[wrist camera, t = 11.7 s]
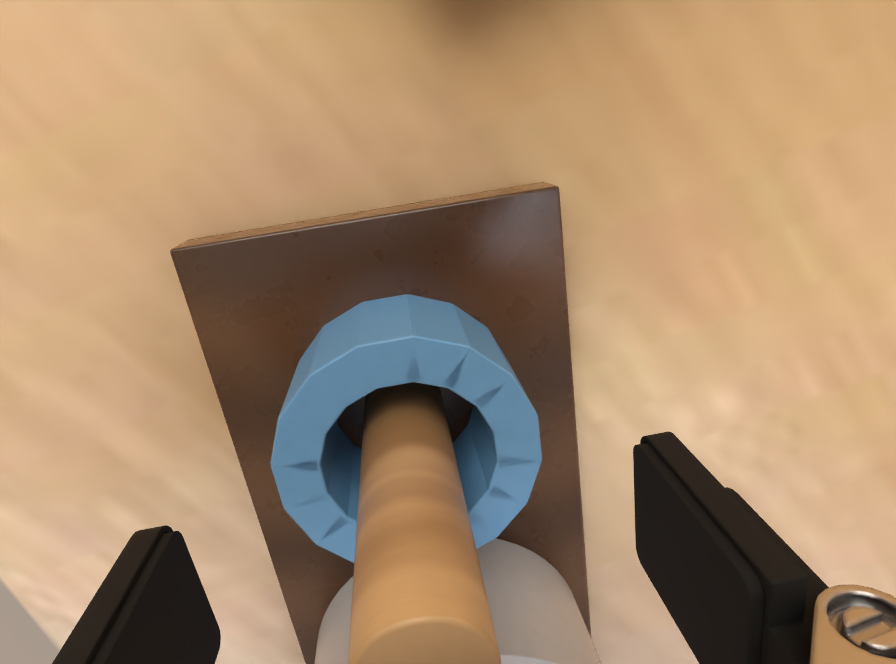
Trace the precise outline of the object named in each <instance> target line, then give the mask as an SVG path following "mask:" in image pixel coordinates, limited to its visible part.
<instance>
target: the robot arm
mask: <svg viewBox="0 0 896 664" xmlns="http://www.w3.org/2000/svg"><path fill="white" fill-rule="evenodd" d="M633 458H634V495H635V531H636V550H637V554H638V558H639V560H640V563H641V565H642V567H643V568H644V570H645V572H646V573H647V575H648V577H649V578H650V580H651V582H652V584H653V585H654V587H655V589H656V590H657V592H658V594H659V596H660V597H661V599H662V601H663V602H664V604H665V606H666V607H667V609H668V611H669V613H670V614H671V616H672V618H673V619H674V621H675V623H676V624H677V626H678V628H679V630H680V631H681V633H682V635H683V636H684V638H685V640H686V641H687V643H688V645H689V647H690V648H691V650H692V652H693V653H694V655H695V657H696V658H697V660H698V662H699V664H896V598H895V597H893V596H891V595H889V594H886V593H884V592H881V591H878V590H876V589H873V588H869V587H863V586H858V585H837V586H834V587H830V588H829V587H828V586H827V585H826V584H825V583H824V582H823V581H822V580H821V579H820V578H819V577H818V576H817V575H816V574H815V573H814V572H813V571H812V570H811V569H810V568H809V567H808V566H807V565H806V564H805V562H804V561H803V560H802V559H801V558H800V557H799V556H798V555H797V554H796V553H795V552H794V551H793V550H792V549H791V548H790V547H789V546H788V545H787V544H786V543H785V542H784V541H783V540H782V539H781V538H780V537H779V536H778V535H777V534H776V533H775V531H774V530H773V529H772V528H771V527H770V526H769V525H768V524H767V523H766V522H765V521H764V520H763V519H762V518H761V517H760V516H759V515H758V514H757V513H756V512H755V511H754V510H753V509H752V508H751V507H750V506H749V505H748V504H747V503H746V502H745V500H744V499H743V498H742V497H741V496H740V495H739V494H738V493H736V492H735V491H734V490H733V489H730V488H724V487H723V486H722V485H721V484H720V483H719V482H718V480H717V479H716V478H715V477H714V476H713V475H712V474H711V473H710V472H709V471H708V470H707V469H706V468H705V467H704V466H703V465H702V464H701V462H700V461H699V460H698V459H697V458H696V457H695V456H694V455H693V454H692V453H691V452H690V451H689V450H688V449H687V448H686V447H685V446H684V445H683V443H682V442H681V441H680V440H679V439H678V438H677V437H676V436H675V435H674V434H673V433H671V432H664V433H659V434H653V435H648V436H643V437H642V439H641V443H640V444H639V445H635V446H634V449H633ZM219 648H220V629H219V626H218V624H217V621H216V619H215V616H214V614H213V611H212V609H211V606H210V604H209V601H208V599H207V596H206V594H205V591H204V589H203V586H202V584H201V581H200V579H199V576H198V574H197V571H196V569H195V566H194V563H193V561H192V558H191V556H190V553H189V551H188V548H187V546H186V543H185V541H184V538H183V536H182V534H181V533H180V532H179V531H174V532H173V530H172V529H171V528H170V527H169V526H161V527H155V528H150V529H145V530H139V531H137V532H135V533H134V534H133V535H132V537H131V538H130V540H129V541H128V543H127V545H126V546H125V548H124V549H123V551H122V553H121V554H120V556H119V557H118V559H117V561H116V562H115V564H114V565H113V567H112V569H111V570H110V572H109V573H108V575H107V577H106V578H105V580H104V581H103V583H102V585H101V586H100V588H99V589H98V591H97V593H96V594H95V596H94V597H93V599H92V601H91V602H90V604H89V605H88V607H87V609H86V610H85V612H84V613H83V615H82V617H81V618H80V620H79V621H78V623H77V625H76V626H75V628H74V629H73V631H72V633H71V634H70V636H69V637H68V639H67V641H66V642H65V644H64V645H63V647H62V649H61V650H60V652H59V654H58V655H57V657H56V658H55V660H54V661H53V663H52V664H215V661H216V658H217V654H218V651H219Z"/></svg>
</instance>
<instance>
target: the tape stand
mask: <svg viewBox="0 0 896 664" xmlns="http://www.w3.org/2000/svg"><path fill="white" fill-rule="evenodd" d="M170 253H171V256H172V259H173V262H174V265H175V268H176V271H177V274H178V277H179V280H180V283H181V286H182V289H183V292H184V295H185V298H186V301H187V304H188V307H189V310H190V313H191V316H192V320H193V323H194V326H195V329H196V332H197V335H198V338H199V341H200V344H201V347H202V350H203V353H204V356H205V359H206V362H207V365H208V368H209V371H210V374H211V377H212V380H213V383H214V386H215V389H216V392H217V395H218V398H219V401H220V404H221V408H222V411H223V414H224V417H225V420H226V423H227V426H228V429H229V432H230V435H231V438H232V441H233V444H234V447H235V450H236V453H237V456H238V459H239V462H240V465H241V468H242V471H243V474H244V477H245V480H246V483H247V486H248V489H249V492H250V495H251V499H252V502H253V505H254V508H255V511H256V514H257V517H258V520H259V523H260V526H261V529H262V532H263V535H264V538H265V541H266V544H267V547H268V550H269V553H270V556H271V559H272V562H273V565H274V568H275V571H276V574H277V577H278V580H279V583H280V587H281V590H282V593H283V596H284V599H285V602H286V605H287V608H288V611H289V614H290V617H291V620H292V623H293V626H294V629H295V632H296V635H297V638H298V641H299V644H300V647H301V650H302V653H303V656H304V659H305V662H306V664H601V662H600V659H599V657H598V654H597V652H596V649H595V647H594V645H593V642H592V640H591V628H590V614H589V600H588V586H587V572H586V558H585V544H584V530H583V516H582V502H581V488H580V474H579V460H578V446H577V432H576V418H575V404H574V390H573V376H572V362H571V348H570V334H569V320H568V305H567V291H566V277H565V263H564V249H563V235H562V221H561V207H560V193H559V187H558V186H554V185H551V184H548V183H544V182H541V183H535V184H529V185H523V186H517V187H510V188H504V189H498V190H492V191H486V192H480V193H474V194H467V195H461V196H455V197H449V198H443V199H437V200H431V201H425V202H418V203H412V204H406V205H400V206H394V207H388V208H382V209H375V210H369V211H363V212H357V213H351V214H345V215H339V216H333V217H326V218H320V219H314V220H308V221H302V222H296V223H290V224H283V225H277V226H271V227H265V228H259V229H253V230H247V231H240V232H234V233H228V234H222V235H216V236H210V237H204V238H198V239H191V240H188V241H186V242H184V243H182V244H180V245H179V246H177V247H175V248H173V249H172V250H171V252H170ZM405 294H408V295H409V294H410V295H415V296H420V297H424V298H429V299H434V300H439V301H443V302H448V303H451V304H454V305H455V306H457V307H458V308H460V309H461V310H463V311H464V312H466V313H467V314H469V315H470V316H472V317H473V318H474V319H476V320H477V321H479V322H480V323H482V324H483V325H485V326H486V327H487V328H488V329H489V331H490V332H491V334H492V336H493V337H494V339H495V340H496V342H497V344H498V345H499V347H500V349H501V350H502V352H503V354H504V355H505V357H506V358H507V360H508V362H509V364H510V365H511V367H512V369H513V371H514V373H515V375H516V376H517V378H518V380H519V382H520V384H521V385H522V387H523V389H524V391H525V393H526V394H527V396H528V398H529V400H530V402H531V404H532V405H533V407H534V409H535V411H536V413H537V415H538V422H539V432H540V442H541V452H542V462H541V465H540V468H539V471H538V474H537V477H536V479H535V482H534V485H533V488H532V491H531V494H530V497H529V500H528V502H527V504H526V505H525V506H524V507H523V508H522V510H521V511H520V512H519V513H518V514H517V515H516V516H515V518H514V519H513V520H512V521H511V522H510V523H509V524H508V526H507V527H506V528H505V529H504V530H503V531H502V532H501V533H500V535H499V536H498V537H496V538H495V539H494V540H492V541H490V542H488V543H486V544H485V545H483V546H481V547H479V548H477V549H476V545H475V541H474V537H473V532H472V528H471V523H470V519H469V514H468V510H467V506H466V501H465V497H464V492H463V488H462V483H461V479H460V475H459V470H458V466H457V461H456V457H455V453H454V448H453V444H452V443H453V442H454V441H455V440H456V438H457V437H458V436H459V435H460V434H461V432H462V431H463V430H464V429H465V427H466V426H467V425H468V424H469V420H470V417H471V413H472V410H473V406H474V405H473V404H472V403H470V402H469V401H467V400H465V399H464V398H462V397H461V396H459V395H457V394H456V393H454V392H453V391H451V390H449V389H448V388H443V387H438V386H432V385H427V384H421V383H415V382H411V383H406V384H400V385H395V386H389V387H384V388H378V389H376V390H374V391H372V392H371V393H369V394H367V395H366V396H364V397H362V398H361V399H359V400H357V401H356V402H354V403H352V404H351V405H349V406H347V407H346V408H345V410H344V411H343V412H342V414H341V415H340V416H339V418H338V419H337V422H338V426H339V427H340V428H341V430H342V431H343V432H344V433H345V435H346V436H347V437H348V438H349V440H350V441H351V442H352V443H353V445H355V446H357V447H359V448H360V449H362V452H361V467H360V483H359V498H358V514H357V529H356V544H355V560H354V563H353V562H351V561H349V560H347V559H345V558H342V557H340V556H338V555H336V554H334V553H332V552H330V551H328V550H326V549H324V548H322V547H320V546H318V545H316V543H314V542H313V541H312V540H311V539H310V538H309V536H308V535H307V534H306V533H305V532H304V531H303V530H302V529H301V528H300V526H299V525H298V524H297V523H296V522H295V521H294V520H293V519H292V518H291V517H290V515H289V514H288V513H287V512H286V511H285V509H284V508H283V505H282V501H281V498H280V495H279V492H278V488H277V485H276V482H275V478H274V475H273V472H272V469H271V464H270V462H271V457H272V451H273V445H274V439H275V433H276V427H277V421H278V417H279V414H280V412H281V409H282V406H283V403H284V401H285V398H286V395H287V393H288V390H289V387H290V384H291V382H292V379H293V376H294V373H295V371H296V368H297V365H298V362H299V360H300V359H301V357H302V356H303V354H304V353H305V351H306V350H307V349H308V347H309V346H310V344H311V343H312V341H313V340H314V339H315V337H316V336H317V334H318V333H319V331H320V330H321V329H322V327H323V326H324V325H325V324H327V323H329V322H330V321H332V320H334V319H335V318H337V317H338V316H340V315H342V314H343V313H345V312H346V311H348V310H350V309H351V308H353V307H355V306H356V305H358V304H359V303H361V302H364V301H370V300H376V299H382V298H387V297H393V296H399V295H405Z"/></svg>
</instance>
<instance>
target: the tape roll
mask: <svg viewBox="0 0 896 664" xmlns="http://www.w3.org/2000/svg"><path fill="white" fill-rule="evenodd" d="M411 382H415V383H421V384H427V385H432V386H438V387H443V388H448V389H449V390H451V391H453V392H454V393H456V394H457V395H459V396H461V397H462V398H464V399H465V400H467V401H469V402H470V403H472V404H473V405H474V406H473V410H472V413H471V417H470V420H469V424H468V425H467V426H466V427H465V429H464V430H463V431H462V432H461V434H460V435H459V436H458V437H457V438H456V440H455V441H454V442H453V443H452V444H453V448H454V453H455V457H456V461H457V466H458V470H459V475H460V479H461V483H462V488H463V492H464V497H465V501H466V506H467V510H468V514H469V519H470V523H471V528H472V532H473V537H474V541H475V545H476V549H477V548H479V547H481V546H483V545H485V544H486V543H488V542H490V541H492V540H494V539H495V538H496V537H498V536H499V535H500V533H501V532H502V531H503V530H504V529H505V528H506V527H507V526H508V524H509V523H510V522H511V521H512V520H513V519H514V518H515V516H516V515H517V514H518V513H519V512H520V511H521V510H522V508H523V507H524V506H525V505H526V504H527V502H528V500H529V497H530V494H531V491H532V488H533V485H534V482H535V479H536V477H537V474H538V471H539V468H540V465H541V462H542V452H541V442H540V432H539V422H538V415H537V413H536V411H535V409H534V407H533V405H532V404H531V402H530V400H529V398H528V396H527V394H526V393H525V391H524V389H523V387H522V385H521V384H520V382H519V380H518V378H517V376H516V375H515V373H514V371H513V369H512V367H511V365H510V364H509V362H508V360H507V358H506V357H505V355H504V354H503V352H502V350H501V349H500V347H499V345H498V344H497V342H496V340H495V339H494V337H493V336H492V334H491V332H490V331H489V329H488V328H487V327H486V326H485V325H483V324H482V323H480V322H479V321H477V320H476V319H474V318H473V317H472V316H470V315H469V314H467V313H466V312H464V311H463V310H461V309H460V308H458V307H457V306H455V305H454V304H451V303H448V302H443V301H439V300H434V299H429V298H424V297H420V296H415V295H410V294H409V295H408V294H405V295H399V296H393V297H387V298H382V299H376V300H370V301H364V302H361V303H359V304H358V305H356V306H355V307H353V308H351V309H350V310H348V311H346V312H345V313H343V314H342V315H340V316H338V317H337V318H335V319H334V320H332V321H330V322H329V323H327V324H325V325H324V326H323V327H322V329H321V330H320V331H319V333H318V334H317V336H316V337H315V339H314V340H313V341H312V343H311V344H310V346H309V347H308V349H307V350H306V351H305V353H304V354H303V356H302V357H301V359H300V360H299V362H298V365H297V368H296V371H295V373H294V376H293V379H292V382H291V384H290V387H289V390H288V393H287V395H286V398H285V401H284V403H283V406H282V409H281V412H280V414H279V417H278V421H277V427H276V433H275V439H274V445H273V451H272V457H271V462H270V464H271V469H272V472H273V475H274V478H275V482H276V485H277V488H278V492H279V495H280V498H281V501H282V505H283V508H284V509H285V511H286V512H287V513H288V514H289V515H290V517H291V518H292V519H293V520H294V521H295V522H296V523H297V524H298V525H299V526H300V528H301V529H302V530H303V531H304V532H305V533H306V534H307V535H308V536H309V538H310V539H311V540H312V541H313V542H314V543H316V545H318V546H320V547H322V548H324V549H326V550H328V551H330V552H332V553H334V554H336V555H338V556H340V557H342V558H345V559H347V560H349V561H351V562H353V563H354V560H355V544H356V529H357V514H358V498H359V483H360V467H361V452H362V449H360V448H359V447H357V446H355V445H353V443H352V442H351V441H350V440H349V438H348V437H347V436H346V435H345V433H344V432H343V431H342V430H341V428H340V427H339V426H338V422H337V419H338V418H339V416H340V415H341V414H342V412H343V411H344V410H345V408H346V407H347V406H349V405H351V404H352V403H354V402H356V401H357V400H359V399H361V398H362V397H364V396H366V395H367V394H369V393H371V392H372V391H374V390H376V389H378V388H384V387H389V386H395V385H400V384H406V383H411Z"/></svg>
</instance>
